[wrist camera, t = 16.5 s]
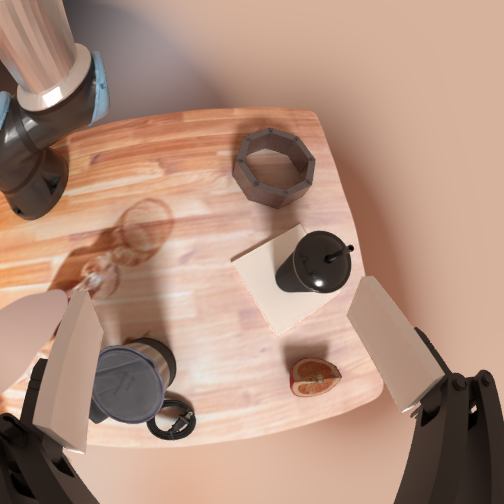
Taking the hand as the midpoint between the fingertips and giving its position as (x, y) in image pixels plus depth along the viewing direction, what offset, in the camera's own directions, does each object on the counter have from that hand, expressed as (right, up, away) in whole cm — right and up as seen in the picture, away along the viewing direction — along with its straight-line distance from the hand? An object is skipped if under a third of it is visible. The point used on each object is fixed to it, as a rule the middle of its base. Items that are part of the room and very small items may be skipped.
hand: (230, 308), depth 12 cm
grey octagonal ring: (+5, +17, +37) cm, 41 cm away
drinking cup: (+7, -2, +32) cm, 33 cm away
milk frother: (-14, -19, +25) cm, 34 cm away
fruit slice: (+10, -18, +30) cm, 36 cm away
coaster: (+7, -2, +33) cm, 34 cm away
